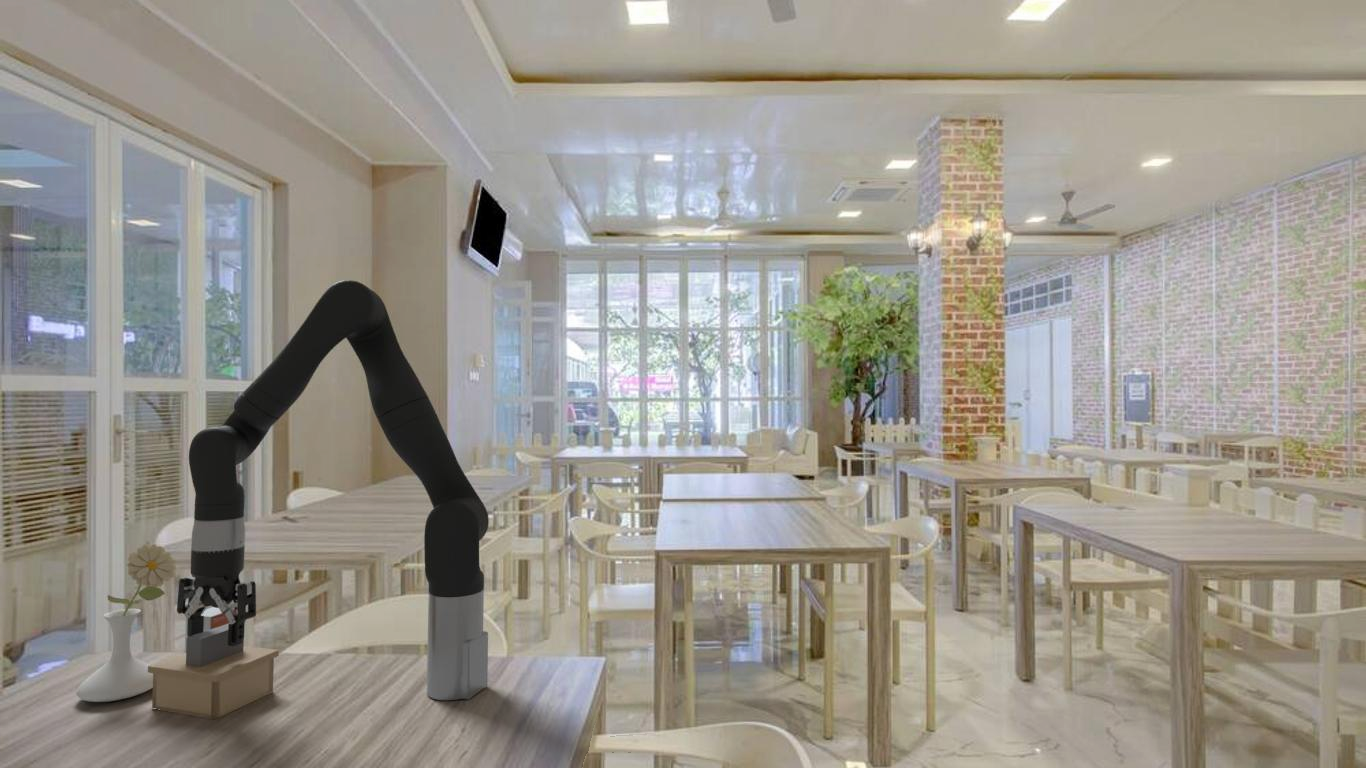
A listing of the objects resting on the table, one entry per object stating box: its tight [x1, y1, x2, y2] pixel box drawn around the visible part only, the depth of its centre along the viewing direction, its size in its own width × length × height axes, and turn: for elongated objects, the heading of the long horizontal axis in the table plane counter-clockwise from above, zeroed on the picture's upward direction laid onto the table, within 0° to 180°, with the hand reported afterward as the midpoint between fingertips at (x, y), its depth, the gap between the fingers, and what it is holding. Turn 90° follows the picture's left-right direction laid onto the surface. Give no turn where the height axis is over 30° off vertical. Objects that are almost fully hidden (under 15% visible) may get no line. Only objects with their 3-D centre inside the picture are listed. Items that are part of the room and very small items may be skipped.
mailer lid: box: [148, 623, 280, 682], centre depth 118 cm, size 14×12×6 cm
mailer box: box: [151, 658, 275, 720], centre depth 118 cm, size 13×11×6 cm
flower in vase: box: [75, 543, 177, 703], centre depth 121 cm, size 13×11×25 cm
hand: (215, 642), depth 118 cm, fingers open, 8 cm apart
